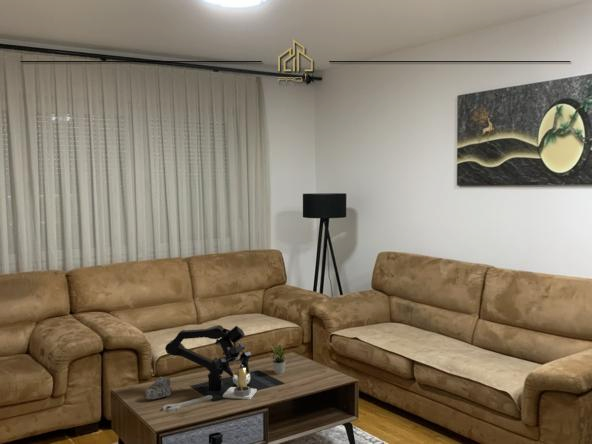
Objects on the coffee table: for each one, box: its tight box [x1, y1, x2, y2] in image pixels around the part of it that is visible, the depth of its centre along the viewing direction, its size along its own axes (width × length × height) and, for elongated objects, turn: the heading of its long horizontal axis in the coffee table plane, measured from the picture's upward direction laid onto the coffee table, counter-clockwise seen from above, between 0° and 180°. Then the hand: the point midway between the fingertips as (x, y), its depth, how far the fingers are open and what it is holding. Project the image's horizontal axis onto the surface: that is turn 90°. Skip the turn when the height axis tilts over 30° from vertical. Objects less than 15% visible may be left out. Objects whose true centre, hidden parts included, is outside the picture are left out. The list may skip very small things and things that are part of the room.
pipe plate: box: [222, 385, 258, 400], centre depth 285 cm, size 14×11×4 cm
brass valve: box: [236, 364, 248, 391], centre depth 283 cm, size 4×4×14 cm
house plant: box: [268, 341, 289, 375], centre depth 318 cm, size 14×14×16 cm
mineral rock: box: [145, 376, 172, 400], centre depth 283 cm, size 13×11×10 cm
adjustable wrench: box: [162, 394, 213, 413], centre depth 273 cm, size 25×6×2 cm, turn 123°
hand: (240, 374), depth 283 cm, fingers open, 9 cm apart
